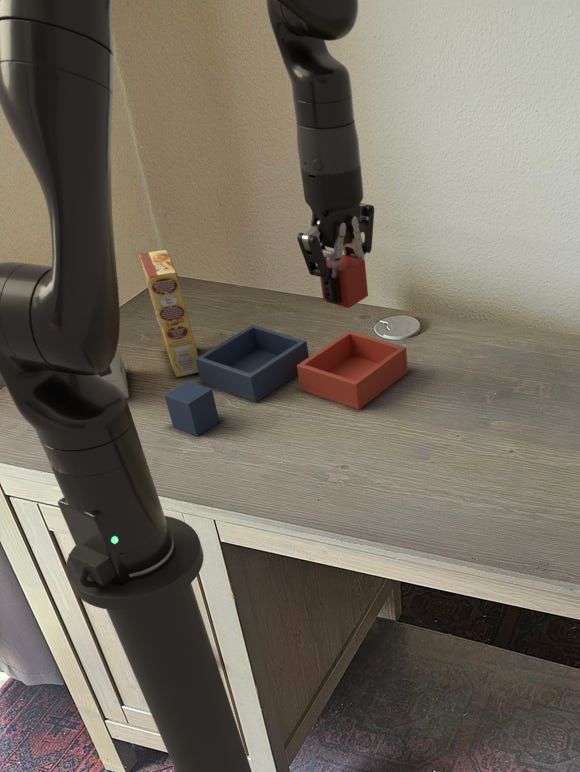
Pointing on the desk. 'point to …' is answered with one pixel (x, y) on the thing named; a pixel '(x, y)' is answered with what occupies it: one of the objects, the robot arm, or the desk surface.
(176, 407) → the blue block
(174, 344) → the candy box
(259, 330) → the blue bin
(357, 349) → the red bin
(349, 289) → the red block
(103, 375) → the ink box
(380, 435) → the desk surface
